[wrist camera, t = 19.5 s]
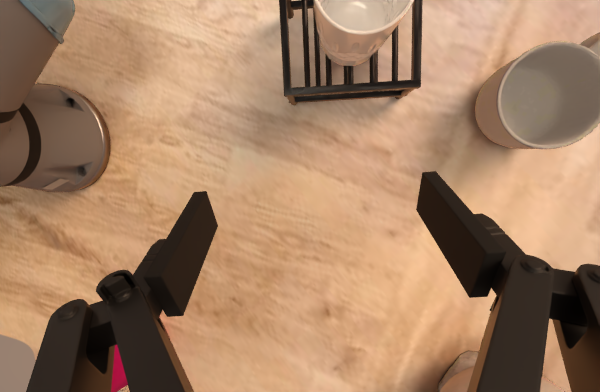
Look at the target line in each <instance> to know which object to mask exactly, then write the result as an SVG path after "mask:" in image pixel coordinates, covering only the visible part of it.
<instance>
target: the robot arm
mask: <svg viewBox="0 0 600 392" xmlns="http://www.w3.org/2000/svg"><path fill="white" fill-rule="evenodd" d="M74 12H75V5H74V1H73V0H0V187H1V186H11V185H12V186H18V187H24V188H30V189H36V190H42V191H48V192H69V191H75V190H80V189H83V188H85V187H88V186H89V185H91V184H92V183H94V182H95V181H96V180H97V179H98V178H99V177H100V176H101V175H102V173H103V172H104V170H105V168H106V165H107V163H108V160H109V155H110V137H109V132H108V129H107V126H106V123H105V121H104V119H103V117H102V115H101V114H100V112H99V111H98V109H97V108H96V107H95V106H94V105H93V104H92V103H91V102H90V101H89V100H88V99H87V98H86V97H84V96H83V95H81V94H80V93H78V92H76V91H73V90H71V89H68V88H64V87H60V86H56V85H48V84H34V83H35V82H36V80H37V78H38V77H39V75H40V74H41V72H42V70H43V69H44V67H45V65H46V64H47V62H48V60H49V59H50V57H51V55H52V54H53V52H54V50H55V49H56V47H57V45H58V44H59V43H60V44H62V43H63V41H64V39H63V35H64V33H65V31H66V30H67V28H68V26H69V24H70V22H71V20H72V18H73V16H74ZM416 210H417V212H418V213H419V215H420V217H421V218H422V220H423V222H424V223H425V225H426V227H427V228H428V230H429V232H430V233H431V235H432V236H433V238H434V240H435V241H436V243H437V245H438V246H439V248H440V250H441V251H442V253H443V255H444V256H445V258H446V260H447V261H448V263H449V264H450V266H451V268H452V269H453V271H454V273H455V274H456V276H457V278H458V279H459V281H460V283H461V284H462V286H463V288H464V289H465V291H466V292H467V294H468V296H469V297H470V298H471V297H487V296H488V294H489V291H490V289H491V288H492V289H493V291H494V292H495V293H496V295H497V296H496V298H495V300H494V302H493V304H492V307H491V309H490V311H491V313H490V317H489V320H488V323H487V327H486V330H485V333H484V337H483V340H482V343H481V347H480V350H479V353H478V356H477V360H476V363H475V366H474V370H473V373H472V376H471V380H470V383H469V386H468V390H467V392H540V387H541V379H542V371H543V363H544V355H545V347H546V339H547V331H548V323H549V318H550V319H552V320H553V323H554V327H555V331H556V335H557V339H558V342H559V346H560V350H561V354H562V357H563V361H564V365H565V369H566V373H567V376H568V380H569V384H570V388H571V391H572V392H600V266H598V265H593V264H584V265H581V266H580V267H579V268H578V269H577V270H576V272H572V271H565V270H559V269H553V268H552V267H551V266H550V265H549V264H548V263H546V262H545V261H543V260H541V259H539V258H537V257H534V256H530V255H526V254H525V253H524V252H523V251H522V250H521V249H520V248H519V247H518V246H517V245H516V244H515V243H514V242H513V240H512V239H511V238H510V237H509V236H508V235H507V234H505V232H504V231H503V230H502V229H501V228H499V226H498V225H497V224H496V223H495V222H494V221H493V220H492V219H491V218H489V217H487V216H486V215H484V214H473V213H472V212H471V211H470V210H469V208H468V207H467V206H466V205H465V204H464V203H463V202H462V201H461V199H460V198H459V197H458V196H457V195H456V194H455V193H454V191H453V190H452V189H451V188H450V187H449V186H448V185H447V184H446V182H445V181H444V180H443V179H442V178H441V177H440V176H439V175H438V173H437V172H436V171H434V172H423V173H422V179H421V185H420V191H419V197H418V203H417V209H416ZM217 227H218V225H217V222H216V219H215V216H214V213H213V210H212V207H211V204H210V201H209V198H208V195H207V192H206V191H203V192H194V193H193V195H192V197H191V198H190V200H189V202H188V203H187V205H186V207H185V208H184V210H183V212H182V214H181V215H180V217H179V219H178V220H177V222H176V224H175V225H174V227H173V229H172V230H171V232H170V234H169V235H168V237H167V239H159V240H158V241H157V242H156V243H155V244H154V245H152V246H151V248H150V249H149V251H148V252H147V255H146V256H145V257H144V259H143V260H142V261H143V262H141V263H140V265H139V266H138V268H137V270H136V271H135V273H134V274H133V275H132V274H131V273H130V272H129V271H128V270H119V271H116V272H113V273H111V274H109V275H108V276H106V277H105V278H104V279H103V280H101V281H100V283H99V284H98V286H97V289H96V292H97V293H98V294H99V296H100V297H101V298H102V300H103V301H100V302H97V303H94V304H91V305H88V304H87V302H86V301H84V300H83V299H77V300H73V301H70V302H68V303H66V304H64V305H63V306H61V307H60V308H58V309H57V310H56V311H55V312H54V313H53V314H52V316H51V318H50V320H49V322H48V325H47V328H46V332H45V335H44V338H43V341H42V344H41V347H40V350H39V353H38V356H37V359H36V363H35V366H34V369H33V372H32V375H31V379H30V381H29V384H28V387H27V391H26V392H111V387H112V375H113V363H114V351H115V345H117V346H118V350H119V353H120V357H121V361H122V364H123V368H124V372H125V375H126V379H127V383H128V386H129V390H130V392H194V391H193V389H192V386H191V384H190V382H189V380H188V378H187V376H186V373H185V371H184V369H183V367H182V365H181V362H180V360H179V358H178V356H177V354H176V352H175V349H174V347H173V345H172V343H171V341H170V338H169V336H168V334H167V332H166V330H165V328H164V325H163V323H162V321H161V319H160V318H159V316H160V314H161V312H162V310H163V311H164V312H165V314H166V316H167V317H171V316H183V315H184V312H185V309H186V307H187V304H188V302H189V299H190V296H191V294H192V291H193V289H194V286H195V284H196V281H197V278H198V276H199V273H200V271H201V268H202V266H203V263H204V260H205V258H206V255H207V253H208V250H209V247H210V245H211V242H212V240H213V237H214V235H215V232H216V229H217Z"/></svg>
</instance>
